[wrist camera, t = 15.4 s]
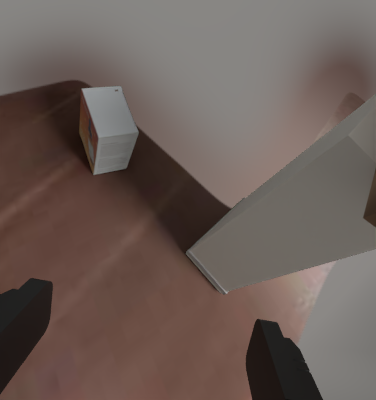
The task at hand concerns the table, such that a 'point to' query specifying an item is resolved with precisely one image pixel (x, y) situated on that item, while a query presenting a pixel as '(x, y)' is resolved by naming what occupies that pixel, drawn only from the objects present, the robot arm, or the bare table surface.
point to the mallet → (371, 204)
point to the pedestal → (298, 212)
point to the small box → (106, 128)
